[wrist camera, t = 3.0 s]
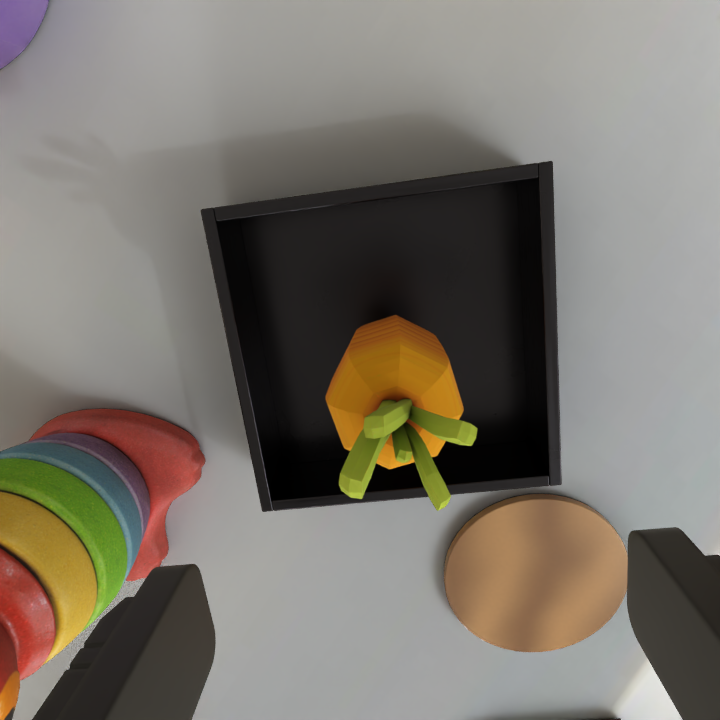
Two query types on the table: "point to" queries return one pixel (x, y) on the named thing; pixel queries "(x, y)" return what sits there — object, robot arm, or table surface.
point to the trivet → (536, 573)
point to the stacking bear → (81, 526)
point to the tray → (407, 300)
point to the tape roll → (18, 26)
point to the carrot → (396, 405)
